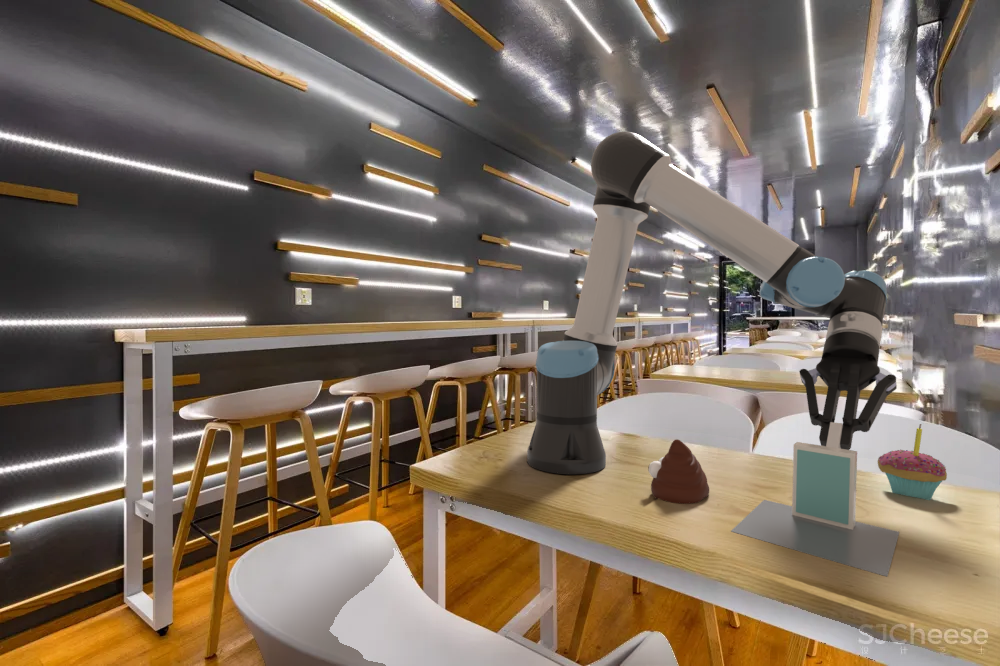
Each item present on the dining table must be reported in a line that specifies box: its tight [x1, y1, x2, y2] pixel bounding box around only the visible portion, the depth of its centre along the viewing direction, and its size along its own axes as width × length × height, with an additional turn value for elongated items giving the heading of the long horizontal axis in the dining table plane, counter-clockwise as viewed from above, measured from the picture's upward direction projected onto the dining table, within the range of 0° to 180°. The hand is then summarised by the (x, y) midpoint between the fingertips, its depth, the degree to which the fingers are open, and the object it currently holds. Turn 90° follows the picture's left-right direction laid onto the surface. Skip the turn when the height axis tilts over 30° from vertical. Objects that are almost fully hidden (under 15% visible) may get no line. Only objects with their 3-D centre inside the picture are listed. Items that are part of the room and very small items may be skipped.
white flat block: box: [791, 441, 858, 530], centre depth 67 cm, size 7×2×10 cm, turn 47°
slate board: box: [730, 499, 900, 578], centre depth 63 cm, size 16×15×1 cm
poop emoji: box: [647, 438, 710, 505], centre depth 77 cm, size 10×8×9 cm
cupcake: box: [877, 423, 948, 501], centre depth 78 cm, size 9×8×12 cm
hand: (831, 464), depth 70 cm, fingers closed
